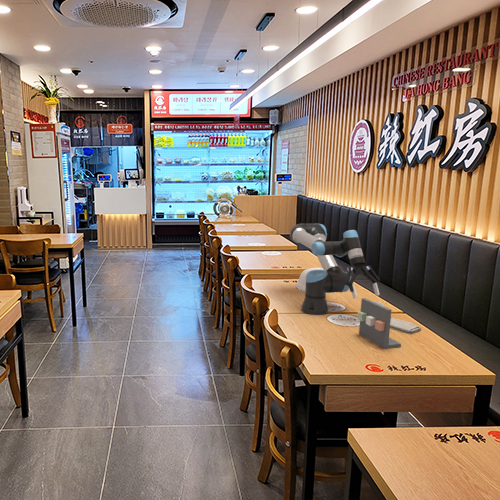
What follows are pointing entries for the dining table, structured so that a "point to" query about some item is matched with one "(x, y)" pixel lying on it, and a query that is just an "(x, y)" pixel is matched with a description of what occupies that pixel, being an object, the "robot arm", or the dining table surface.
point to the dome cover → (304, 278)
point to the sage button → (361, 316)
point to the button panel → (370, 331)
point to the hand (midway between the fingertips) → (366, 296)
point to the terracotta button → (380, 325)
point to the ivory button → (370, 320)
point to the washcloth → (404, 326)
